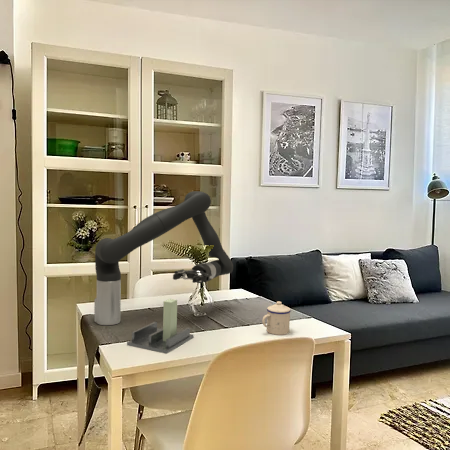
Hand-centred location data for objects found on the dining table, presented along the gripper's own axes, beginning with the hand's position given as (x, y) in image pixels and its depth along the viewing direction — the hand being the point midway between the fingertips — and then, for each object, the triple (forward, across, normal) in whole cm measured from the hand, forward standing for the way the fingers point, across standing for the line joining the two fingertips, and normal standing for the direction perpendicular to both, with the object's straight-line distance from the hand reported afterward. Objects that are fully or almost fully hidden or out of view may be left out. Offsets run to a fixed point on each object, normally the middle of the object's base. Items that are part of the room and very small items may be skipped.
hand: (183, 278), depth 170 cm
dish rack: (+15, +1, +20) cm, 25 cm away
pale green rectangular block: (+15, +4, +19) cm, 24 cm away
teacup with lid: (-16, +32, +19) cm, 41 cm away
